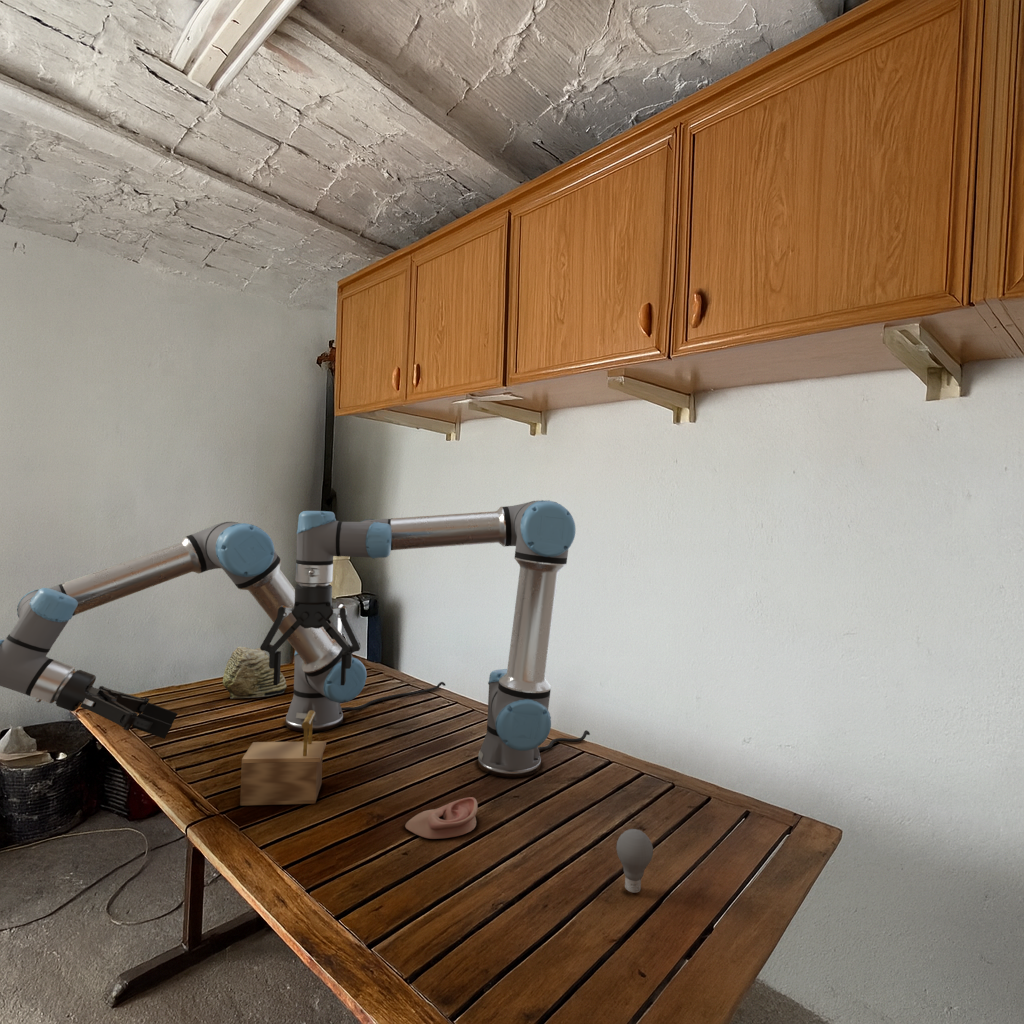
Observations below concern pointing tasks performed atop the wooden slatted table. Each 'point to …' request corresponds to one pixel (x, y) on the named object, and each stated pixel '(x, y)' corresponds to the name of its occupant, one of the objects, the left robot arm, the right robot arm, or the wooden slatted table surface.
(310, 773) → the chest
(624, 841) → the light bulb
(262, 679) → the fossil
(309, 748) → the lid
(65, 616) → the left robot arm
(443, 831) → the anatomical model
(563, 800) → the wooden slatted table surface
